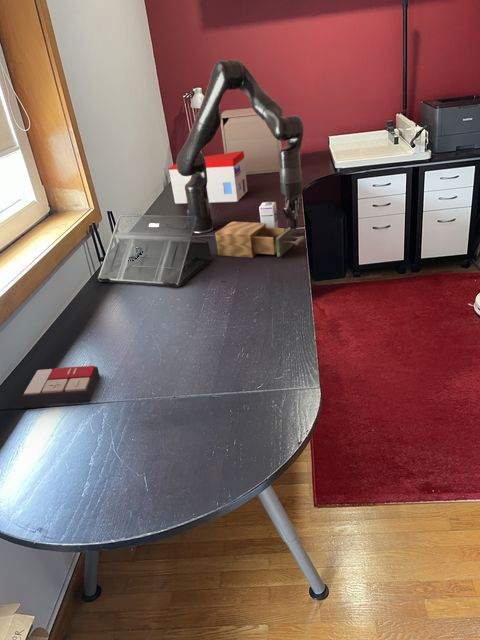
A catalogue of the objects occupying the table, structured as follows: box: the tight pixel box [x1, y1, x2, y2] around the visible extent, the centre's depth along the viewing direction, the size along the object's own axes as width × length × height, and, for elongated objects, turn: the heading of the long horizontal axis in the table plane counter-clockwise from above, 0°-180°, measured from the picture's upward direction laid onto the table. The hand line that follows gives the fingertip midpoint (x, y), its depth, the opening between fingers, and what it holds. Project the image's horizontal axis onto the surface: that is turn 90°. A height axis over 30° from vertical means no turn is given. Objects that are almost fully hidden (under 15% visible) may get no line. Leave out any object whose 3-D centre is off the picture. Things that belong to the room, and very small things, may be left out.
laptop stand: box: [96, 214, 212, 288], centre depth 182 cm, size 33×28×18 cm
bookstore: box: [168, 151, 248, 205], centre depth 268 cm, size 21×35×21 cm, turn 77°
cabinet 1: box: [220, 107, 283, 176], centre depth 317 cm, size 35×29×34 cm
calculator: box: [21, 365, 100, 409], centre depth 122 cm, size 11×4×15 cm
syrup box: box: [258, 201, 279, 228], centre depth 201 cm, size 6×6×14 cm
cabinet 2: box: [214, 221, 266, 259], centre depth 195 cm, size 15×14×9 cm
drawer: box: [251, 226, 305, 258], centre depth 189 cm, size 20×13×7 cm, turn 65°
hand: (293, 228), depth 183 cm, fingers closed
